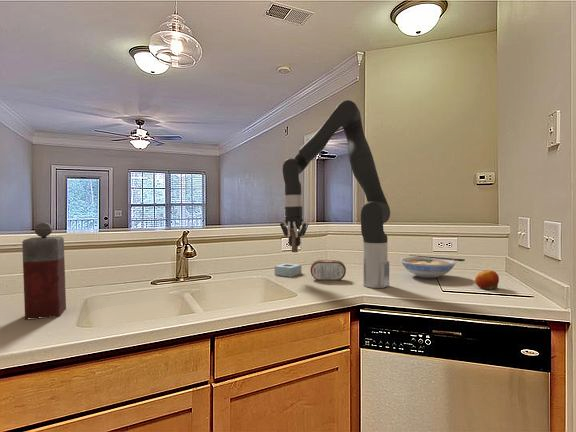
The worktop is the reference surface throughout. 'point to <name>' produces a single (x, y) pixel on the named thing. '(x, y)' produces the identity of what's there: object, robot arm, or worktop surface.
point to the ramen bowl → (429, 265)
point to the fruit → (487, 279)
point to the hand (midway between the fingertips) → (294, 245)
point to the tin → (328, 270)
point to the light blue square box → (287, 269)
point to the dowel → (293, 241)
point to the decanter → (44, 274)
